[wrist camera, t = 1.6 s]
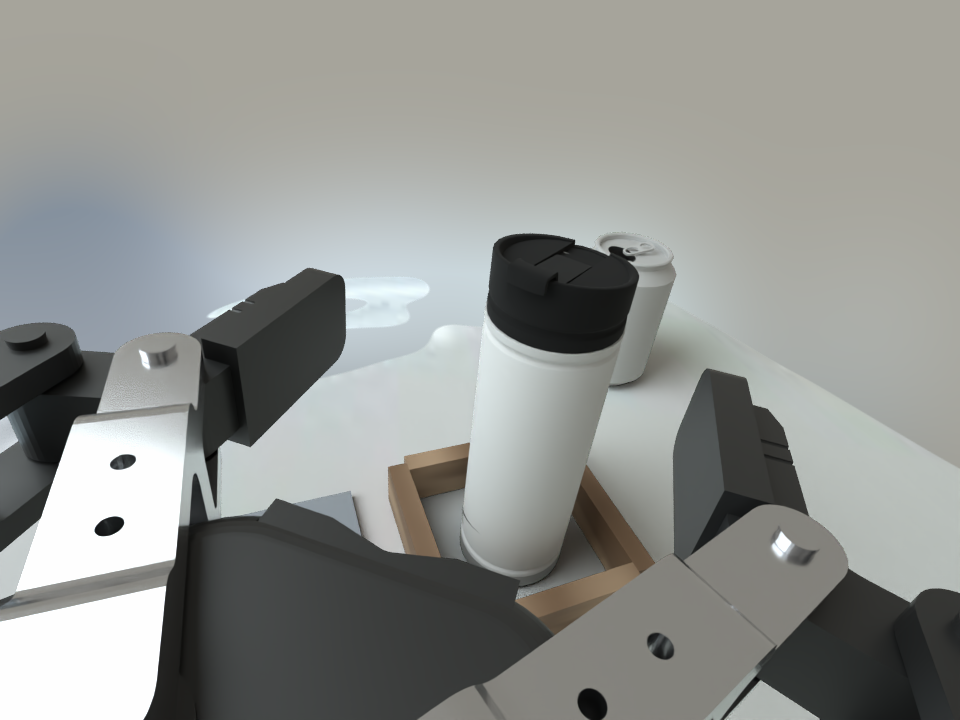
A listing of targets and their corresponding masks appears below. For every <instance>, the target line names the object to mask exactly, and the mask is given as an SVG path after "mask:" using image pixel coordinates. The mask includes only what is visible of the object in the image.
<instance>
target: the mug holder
mask: <svg viewBox="0 0 960 720" xmlns="http://www.w3.org/2000/svg"><path fill="white" fill-rule="evenodd" d="M469 449H470V443H466V444H461V445H456V446H451V447H447V448H442V449H437V450H432V451H427V452H423V453H418V454H413V455H408V456H404V464H400V465H395V466H390V467H388V491H389V501H390V505H391V508H392V511H393V514H394V518H395V521H396V524H397V527H398V531H399V534H400V537H401V540H402V543H403V547H404V550H405V553H406V554H411V555H421V556H431V557H441V556H440V553H439V550H438V547H437V545H436V542H435V539H434V536H433V534H432V531H431V528H430V525H429V523H428V520H427V517H426V514H425V512H424V509H423V506H422V503H421V501H420V498H424V497H428V496H432V495H437V494H441V493H445V492H449V491H453V490H457V489H462V488H465V485H466V476H467V467H468V458H469ZM572 516H573V517H574V519H575V520H576V522H577V524H578V525H579V527H580V529H581V530H582V532H583V534H584V535H585V537H586V538H587V540H588V542H589V543H590V545H591V547H592V548H593V550H594V551H595V553H596V555H597V556H598V558H599V560H600V561H601V563H602V564H603V566H604V568H605V569H606V571H604V572H601V573H597V574H594V575H591V576H588V577H585V578H582V579H579V580H576V581H573V582H570V583H567V584H564V585H560V586H557V587H554V588H551V589H548V590H545V591H542V592H539V593H536V594H533V595H530V596H526V597H523V598H520V599H517V600H515V601H516V602H517V603H519V604H520V605H522V606H523V607H525V608H526V609H528V610H529V611H530V612H531V613H533V614H534V615H535V616H536V617H538V618H539V619H540V620H541V621H542V622H543V623H544V624H545V625H546V626H547V627H548V628H549V629H550V630H551V631H552V632H553V633H554V634H555V635H556V634H557V633H559V632H560V631H562V630H563V629H564V628H566V627H567V626H569V625H570V624H571V623H573V622H574V621H576V620H577V619H578V618H580V617H581V616H582V615H584V614H585V613H587V612H588V611H589V610H591V609H592V608H594V607H595V606H596V605H598V604H599V603H601V602H602V601H603V600H605V599H606V598H608V597H609V596H610V595H612V594H613V593H615V592H616V591H617V590H619V589H620V588H622V587H623V586H624V585H626V584H627V583H629V582H630V581H631V580H633V579H634V578H636V577H637V576H638V575H640V574H641V573H643V572H644V571H645V570H647V569H648V568H650V567H651V566H652V565H654V564H655V562H654V561H653V559H652V558H651V556H650V555H649V554H648V552H647V551H646V549H645V548H644V546H643V545H642V544H641V542H640V541H639V539H638V538H637V536H636V535H635V534H634V532H633V531H632V529H631V528H630V526H629V525H628V524H627V522H626V521H625V519H624V518H623V516H622V515H621V514H620V512H619V511H618V509H617V508H616V506H615V505H614V504H613V502H612V501H611V499H610V498H609V496H608V495H607V494H606V492H605V491H604V489H603V488H602V486H601V485H600V484H599V482H598V481H597V479H596V478H595V476H594V475H593V474H592V472H591V471H590V469H589V468H588V466H587V465H586V466H585V470H584V473H583V476H582V480H581V483H580V487H579V490H578V493H577V497H576V500H575V504H574V507H573V510H572Z"/></svg>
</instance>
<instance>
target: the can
mask: <svg viewBox="0 0 960 720" xmlns="http://www.w3.org/2000/svg"><path fill="white" fill-rule="evenodd" d="M591 249H594V250H597V251H599V252H602V253H604V254H606V255H608V256H609V255H610V253H614V254H616V255H618V256H620V257H622V258H624V259H626V260H627V261H628V262H630V263H631V264H632V265H633V266H634V267H635V268H636V269H637V271H638V273H639V281H638V285H637V288H636V291H635V295H634V298H633V302H632V305H631V309H630V312H629V314H628V317H627V322H626V329H625V333H624V337H623V341H622V342H621V346H620V351H619V354H618V358H617V361H616V364H615V368H614V371H613V375H612V378H611V381H610V385H609V386H615V385H621V384H624V383H627V382H631V381H634V380H636V379H637V378H639V377H640V376H641V375H642V374H643V372H644V369H645V366H646V363H647V360H648V358H649V355H650V352H651V349H652V346H653V343H654V340H655V337H656V334H657V331H658V328H659V325H660V322H661V319H662V316H663V313H664V310H665V307H666V304H667V301H668V298H669V295H670V292H671V289H672V286H673V283H674V280H675V277H676V273H675V269H674V267H673V266H672V264H671V262H672V260H673V254H672V251H671V250H670V249H669V248H668V247H667V246H666V245H664V244H662V243H661V242H659V241H657V240H655V239H652V238H649V237H646V236H642V235H639V234H633V233H626V232H613V233H607V234H604V235H601V236H599V237H598V238H597V239H596V240H595V246H594V247H593V248H591Z"/></svg>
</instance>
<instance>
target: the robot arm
mask: <svg viewBox="0 0 960 720" xmlns="http://www.w3.org/2000/svg"><path fill="white" fill-rule="evenodd" d="M345 339H346V312H345V283H344V279H343V278H342V276H340V275H336V274H333V273H329V272H325V271H321V270H317V269H313V268H307V269H305V270H303V271H302V272H300V273H299V274H297V275H296V276H294V277H293V278H291V279H290V280H288V281H287V282H286V283H280V284H277V285H274V286H271V287H268V288H264V289H261V290H259V291H258V292H257V293H255V294H254V295H252V296H250V297H249V298H247V299H245V302H241V303H239V304H238V305H236V306H234V307H233V308H232V311H231V310H228V311H227V312H225V313H223V314H222V315H220V316H219V317H217V318H216V319H214V320H213V321H211V322H209V323H208V324H207V325H205V326H203V327H202V328H200V329H198V330H197V331H195V332H194V333H192V334H191V335H185V334H181V333H171V332H168V333H155V334H149V335H145V336H141V337H138V338H135V339H133V340H131V341H129V342H127V343H126V344H124V345H122V346H121V347H120V348H119V349H118V350H117V351H116V352H115V353H108V352H93V351H81V350H80V347H79V344H78V341H77V338H76V335H75V332H74V331H73V330H72V329H71V328H69V327H68V326H65V325H61V324H56V323H31V324H24V325H19V326H15V327H11V328H8V329H5V330H2V331H0V420H1V419H2V418H4V417H5V416H7V417H8V419H9V421H10V423H11V425H12V428H13V430H14V432H15V434H16V436H17V439H18V442H17V443H15V444H14V445H12V446H11V447H10V448H8V449H7V450H5V451H4V452H2V453H1V454H0V552H1V551H2V550H3V549H5V548H6V547H7V546H8V545H9V544H11V543H12V542H13V541H14V540H15V539H17V538H18V537H19V536H20V535H21V534H22V533H24V532H25V531H26V530H27V529H28V528H30V527H31V526H32V525H33V524H34V523H36V522H37V521H38V520H39V519H40V518H41V520H40V523H39V526H38V529H37V532H36V535H35V538H34V541H33V544H32V547H31V550H30V553H29V555H28V558H27V561H26V564H25V567H24V570H23V573H22V576H21V579H20V582H19V585H18V588H17V590H16V593H15V594H14V595H11V596H9V597H6V598H4V599H1V600H0V720H726V719H727V718H728V717H729V716H730V715H731V714H732V713H733V712H734V711H735V709H736V708H737V707H738V706H739V705H740V704H741V703H742V702H743V701H744V700H745V699H746V697H747V696H748V695H749V694H750V693H751V692H752V691H753V690H754V689H755V688H756V687H757V685H758V684H759V683H760V682H761V681H763V682H765V683H766V684H768V685H769V686H771V687H772V688H774V689H775V690H777V691H778V692H780V693H782V694H783V695H785V696H786V697H788V698H789V699H791V700H792V701H794V702H795V703H797V704H798V705H800V706H801V707H803V708H805V709H806V710H808V711H809V712H811V713H812V714H814V715H815V716H817V717H818V718H820V720H960V593H958V592H954V591H950V590H946V589H928V590H925V591H923V592H921V593H920V594H919V595H918V596H917V597H916V598H915V599H914V600H913V601H912V602H911V603H910V602H908V601H906V600H904V599H902V598H900V597H898V596H896V595H895V594H893V593H891V592H889V591H887V590H885V589H883V588H881V587H879V586H878V585H876V584H874V583H872V582H870V581H868V580H866V579H864V578H863V577H861V576H859V575H858V574H856V573H854V572H853V571H851V570H850V569H849V568H848V559H847V556H846V553H845V551H844V549H843V548H842V546H841V545H840V543H839V542H838V540H837V539H836V538H835V537H834V536H833V535H832V534H831V533H830V532H829V531H828V530H827V529H826V528H825V527H824V526H822V525H821V524H820V523H818V522H817V521H815V520H814V519H812V518H811V517H809V515H808V511H807V508H806V504H805V501H804V497H803V494H802V490H801V487H800V484H799V480H798V477H797V473H796V470H795V466H793V465H792V464H793V460H792V456H791V453H790V450H788V447H789V446H788V442H787V439H786V435H785V432H784V429H783V427H782V426H781V424H780V423H779V422H778V421H777V420H776V419H775V417H774V416H773V415H772V414H771V413H770V411H769V410H768V409H766V408H762V407H758V406H755V405H753V404H752V400H751V395H750V391H749V387H748V382H747V379H746V378H744V377H740V376H736V375H732V374H728V373H724V372H720V371H716V370H712V369H706V370H705V371H704V372H703V374H702V376H701V378H700V380H699V382H698V385H697V387H696V389H695V392H694V394H693V397H692V399H691V401H690V404H689V406H688V408H687V411H686V413H685V415H684V418H683V420H682V423H681V425H680V427H679V430H678V433H677V436H676V440H675V445H674V451H673V493H674V554H670V555H667V556H666V557H664V558H662V559H661V560H659V561H658V562H657V563H655V564H654V565H652V566H651V567H650V568H648V569H647V570H645V571H644V572H643V573H641V574H640V575H638V576H637V577H636V578H634V579H633V580H631V581H630V582H629V583H627V584H626V585H624V586H623V587H622V588H620V589H619V590H617V591H616V592H615V593H613V594H612V595H610V596H609V597H608V598H606V599H605V600H603V601H602V602H601V603H599V604H598V605H596V606H595V607H594V608H592V609H591V610H589V611H588V612H587V613H585V614H584V615H582V616H581V617H580V618H578V619H577V620H576V621H574V622H573V623H571V624H570V625H569V626H567V627H566V628H564V629H563V630H562V631H560V632H559V633H557V634H556V635H555V634H554V633H553V632H552V631H551V630H550V629H549V628H548V627H547V626H546V625H545V624H544V623H543V622H542V621H541V620H540V619H539V618H538V617H536V616H535V615H534V614H533V613H531V612H530V611H529V610H528V609H526V608H525V607H523V606H522V605H520V604H519V603H517V602H516V601H515V599H516V595H517V591H518V587H519V584H520V580H517V579H514V578H511V577H508V576H505V575H502V574H499V573H496V572H493V571H490V570H487V569H485V568H482V567H479V566H476V565H473V564H470V563H467V562H464V561H461V560H458V559H451V558H441V557H431V556H421V555H411V554H401V553H392V552H387V551H384V550H382V549H380V548H379V547H377V546H376V545H374V544H373V543H371V542H370V541H368V540H367V539H365V538H363V537H362V536H360V535H359V534H357V533H356V532H354V531H353V530H351V529H350V528H348V527H347V526H345V525H344V524H342V523H340V522H339V521H337V520H336V519H334V518H333V517H330V516H327V515H324V514H321V513H318V512H315V511H312V510H309V509H306V508H303V507H300V506H297V505H294V504H291V503H288V502H285V501H282V500H280V499H277V498H276V499H275V501H274V502H273V503H272V504H271V505H270V507H269V508H268V509H267V510H266V511H265V513H264V514H263V515H262V516H234V517H224V518H221V472H222V457H221V451H220V446H221V445H222V444H223V443H224V442H225V441H226V440H230V441H233V442H236V443H239V444H243V445H246V446H249V447H251V446H252V445H253V444H254V443H255V442H256V441H257V440H258V439H259V438H260V437H261V436H262V435H263V434H264V433H265V432H266V431H267V430H268V429H269V428H270V427H271V426H272V425H273V424H274V423H275V422H276V421H277V420H278V419H279V418H280V417H281V416H282V415H283V414H284V413H285V412H286V411H287V410H288V409H289V408H290V407H291V406H292V405H293V404H294V403H295V402H296V401H297V400H298V399H299V398H300V397H301V396H302V395H303V394H304V393H305V392H306V391H307V390H308V389H309V388H310V387H311V386H312V385H313V384H314V383H315V382H316V381H317V380H318V379H319V378H320V377H321V376H322V375H323V374H324V373H325V372H326V371H327V370H328V369H329V368H330V367H331V366H332V365H333V364H334V363H335V362H336V361H337V360H338V358H339V357H340V355H341V353H342V351H343V348H344V344H345Z"/></svg>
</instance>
